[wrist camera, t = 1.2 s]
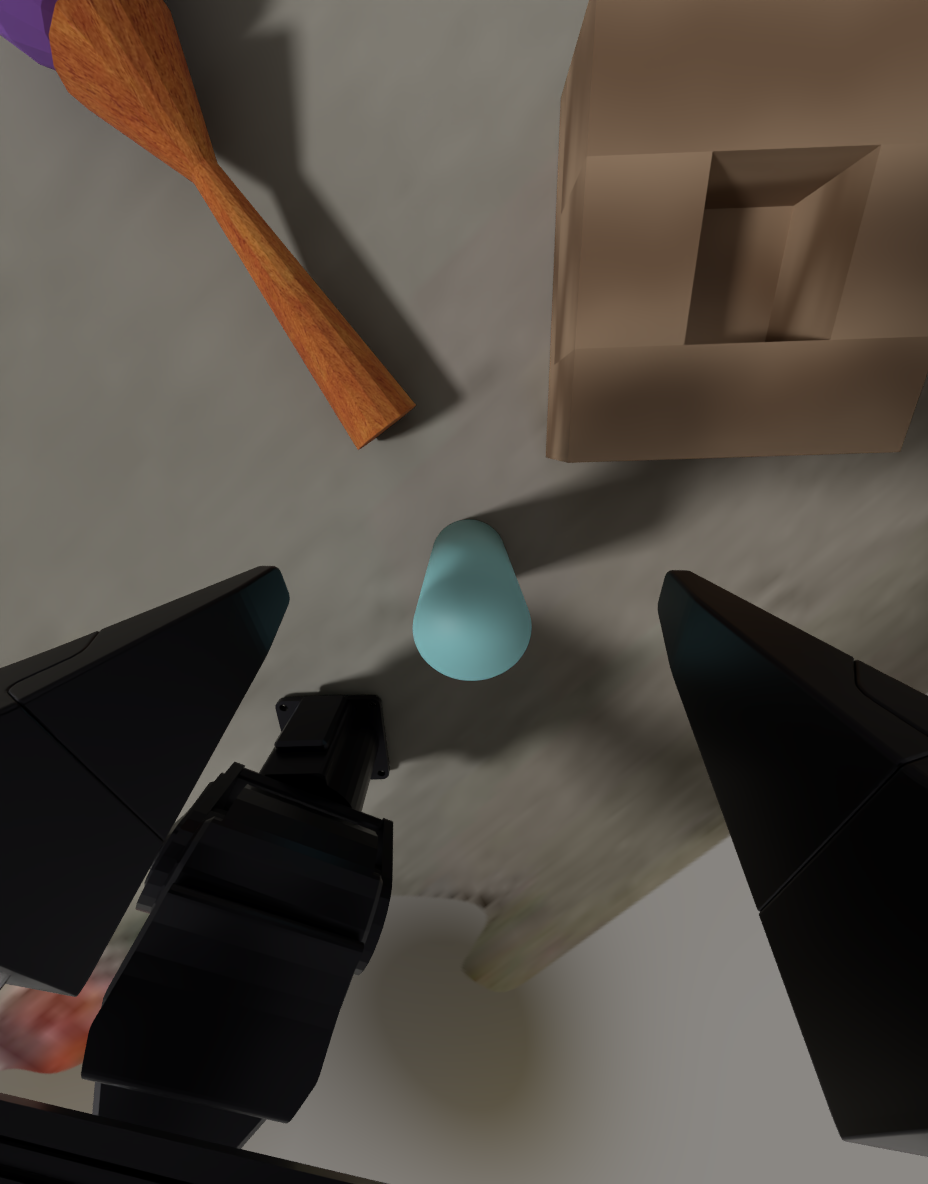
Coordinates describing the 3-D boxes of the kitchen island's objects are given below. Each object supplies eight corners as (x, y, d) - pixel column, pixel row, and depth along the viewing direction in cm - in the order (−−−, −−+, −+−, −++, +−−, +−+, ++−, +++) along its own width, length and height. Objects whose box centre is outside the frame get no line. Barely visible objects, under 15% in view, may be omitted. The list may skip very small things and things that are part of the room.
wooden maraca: (314, 481, 17) (-295, -247, 9) (361, 451, 22) (-7, -35, 14) (426, 392, 14) (-256, -660, 7) (448, 382, 20) (68, -235, 12)
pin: (505, 588, 22) (529, 679, 14) (434, 590, 23) (417, 682, 14) (505, 518, 21) (533, 571, 13) (429, 520, 21) (408, 576, 13)
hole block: (807, 448, 20) (899, 452, 16) (545, 457, 20) (567, 462, 16) (905, 83, 15) (1075, -53, 11) (561, 98, 15) (598, -32, 11)
